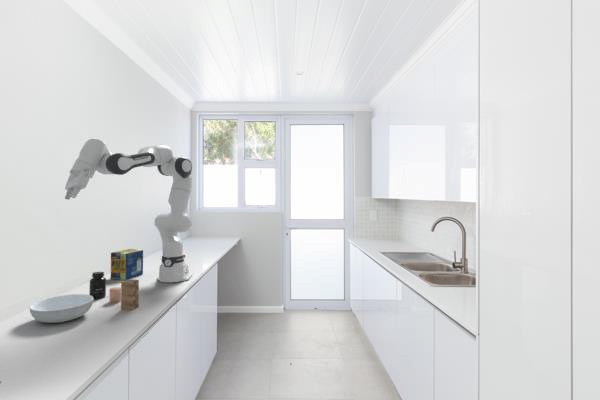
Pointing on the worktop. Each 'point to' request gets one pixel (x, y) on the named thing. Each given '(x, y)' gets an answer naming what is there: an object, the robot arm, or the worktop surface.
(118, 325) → the worktop surface
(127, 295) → the block middle
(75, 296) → the serving bowl
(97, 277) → the supplement bottle
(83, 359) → the worktop surface
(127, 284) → the block top
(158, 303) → the worktop surface
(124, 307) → the block bottom
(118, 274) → the protein box
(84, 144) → the robot arm
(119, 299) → the cylinder
